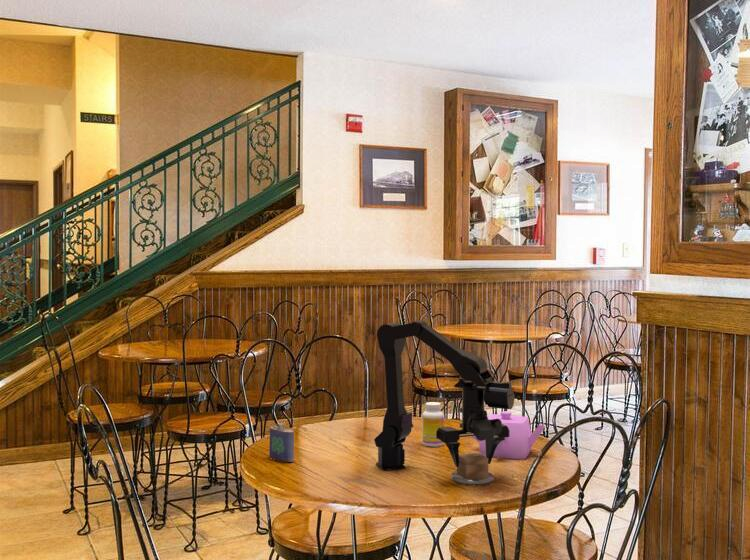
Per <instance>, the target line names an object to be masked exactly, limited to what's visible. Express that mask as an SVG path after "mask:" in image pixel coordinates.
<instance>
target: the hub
mask: <svg viewBox="0 0 750 560" xmlns="http://www.w3.org/2000/svg"><path fill="white" fill-rule="evenodd" d="M450 477H451V481H452V482H453V481H454V483H455V482H456V483H455V484H458V483H459V485H462V484H465V485H464V486H468V485H475V486H474V487H479V486H478V485H483V486H487V484H488V485H491V484H493V483H492V482H493V481H494V482H495V476H494V474H493V473H491V472H489V471H488V478H481V479H472V480H467V479H465V478H463V477H462V476H460V475H459V474H457V470H456V471H453V472H452V473H451V475H450ZM490 483H491V484H490Z"/></svg>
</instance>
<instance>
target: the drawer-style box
mask: <svg viewBox="0 0 750 560" xmlns="http://www.w3.org/2000/svg"><path fill="white" fill-rule="evenodd" d="M456 471H457V474H459V475H460V476H462V477H463V478H465V479H467V480H472V479H481V478H488V472H489V464H488V458H487V457H486V456H483V455H481V453H479V452H472V453H471V452H469V453H461V454H459V467H456Z"/></svg>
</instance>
